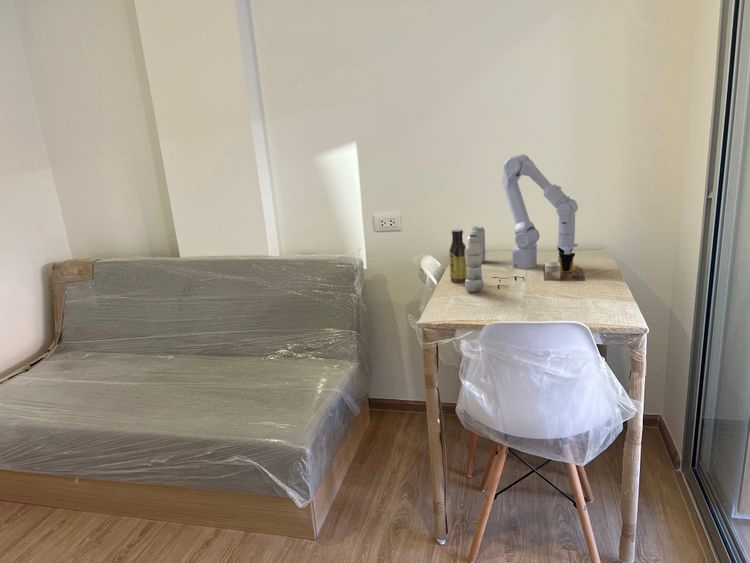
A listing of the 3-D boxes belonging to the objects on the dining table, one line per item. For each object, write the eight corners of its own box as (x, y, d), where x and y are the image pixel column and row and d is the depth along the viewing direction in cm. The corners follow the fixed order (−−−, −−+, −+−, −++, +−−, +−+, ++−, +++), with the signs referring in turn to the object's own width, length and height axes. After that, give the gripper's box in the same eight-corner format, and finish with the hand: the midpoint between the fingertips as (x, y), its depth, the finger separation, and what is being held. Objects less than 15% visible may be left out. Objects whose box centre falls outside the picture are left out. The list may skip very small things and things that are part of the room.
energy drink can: (487, 262, 225) (486, 227, 221) (472, 264, 225) (472, 229, 220) (483, 259, 231) (482, 225, 227) (469, 260, 231) (468, 226, 226)
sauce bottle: (450, 278, 208) (449, 227, 202) (467, 278, 207) (466, 227, 201) (449, 283, 202) (447, 231, 196) (466, 283, 201) (465, 231, 195)
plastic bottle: (463, 293, 190) (461, 238, 184) (467, 287, 196) (465, 234, 190) (481, 294, 187) (480, 238, 182) (485, 288, 193) (484, 234, 188)
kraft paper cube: (558, 272, 202) (559, 259, 201) (558, 268, 207) (558, 255, 205) (572, 272, 201) (573, 259, 199) (571, 268, 205) (572, 255, 204)
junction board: (544, 283, 194) (544, 267, 192) (543, 270, 209) (543, 255, 207) (585, 283, 190) (586, 267, 189) (581, 270, 205) (582, 255, 203)
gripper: (579, 237, 192) (578, 273, 196) (576, 228, 205) (575, 262, 209) (558, 237, 194) (557, 273, 198) (556, 228, 207) (556, 262, 211)
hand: (565, 268), depth 203 cm, fingers open, 7 cm apart
